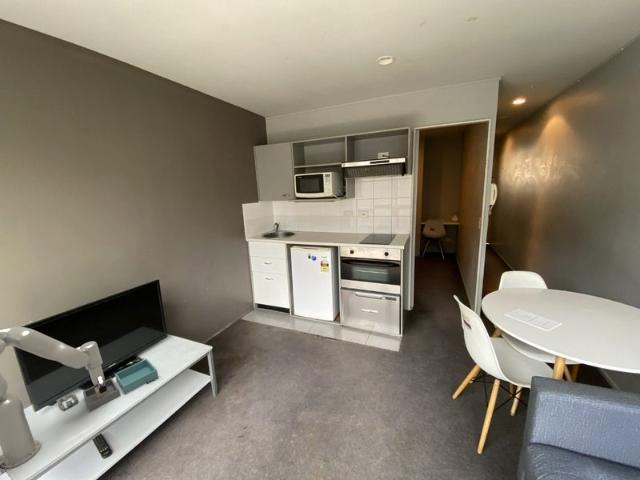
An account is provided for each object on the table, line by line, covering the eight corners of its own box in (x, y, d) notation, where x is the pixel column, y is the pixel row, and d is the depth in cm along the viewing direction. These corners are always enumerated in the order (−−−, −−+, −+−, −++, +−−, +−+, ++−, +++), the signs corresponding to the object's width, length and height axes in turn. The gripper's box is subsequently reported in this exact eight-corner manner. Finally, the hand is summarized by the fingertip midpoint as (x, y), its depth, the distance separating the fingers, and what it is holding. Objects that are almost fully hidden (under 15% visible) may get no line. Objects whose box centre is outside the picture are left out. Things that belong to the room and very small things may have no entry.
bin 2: (125, 395, 160) (123, 386, 159) (116, 382, 171) (114, 373, 170) (158, 377, 173) (156, 369, 172) (148, 366, 185) (146, 358, 183)
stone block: (98, 400, 156) (96, 391, 154) (96, 397, 159) (94, 388, 157) (108, 395, 159) (105, 387, 158) (106, 392, 162) (103, 383, 160)
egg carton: (58, 405, 156) (56, 399, 155) (75, 396, 162) (73, 390, 161) (63, 414, 149) (61, 407, 149) (80, 404, 155) (78, 398, 154)
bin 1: (90, 413, 149) (88, 405, 148) (84, 398, 159) (82, 391, 158) (121, 396, 159) (119, 389, 158) (113, 384, 169) (111, 377, 168)
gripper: (82, 360, 157) (90, 385, 161) (88, 373, 146) (97, 399, 150) (98, 353, 162) (105, 377, 167) (105, 365, 151) (113, 391, 156)
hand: (101, 388), depth 158 cm, fingers open, 9 cm apart
